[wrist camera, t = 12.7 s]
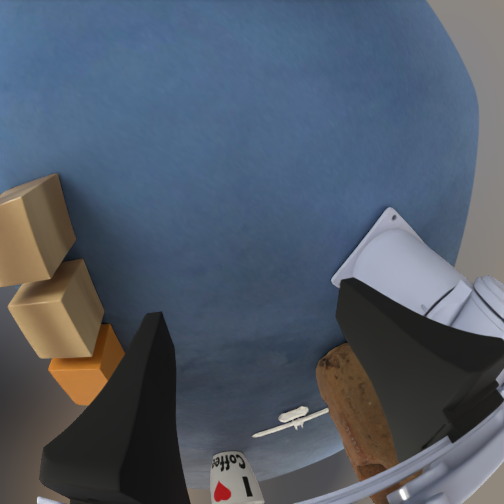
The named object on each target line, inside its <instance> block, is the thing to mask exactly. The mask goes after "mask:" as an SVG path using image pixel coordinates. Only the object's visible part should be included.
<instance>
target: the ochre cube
mask: <svg viewBox="0 0 504 504" xmlns="http://www.w3.org/2000/svg"><path fill="white" fill-rule="evenodd" d="M124 354H125V352H124V350H123V348H122V346H121V344H120V342H119V340H118V339H117V337H116V335H115V333H114V331H113V328H112V326H111V324H101V325H100V329H99V333H98V336H97V340H96V344H95V348H94V352H93V356H92V357H73V358H52V360H51V363H50V366H49V369H48V370H49V372H50V373H51V374H52V376H53V377H54V378H55V380H56V381H57V382H58V383H59V384H60V386H61V387H62V388H63V389H64V390H65V392H66V393H67V394H68V395H69V396H70V397H71V399H72V400H73V401H74V402H75V403H76V404H77V405H90V403H91V402H92V401H93V400H94V399H95V397H96V396H97V395H98V394H99V392H100V391H101V390H102V388H103V387H104V386H105V384H106V383H107V381H108V380H109V379H110V377H111V376H112V374H113V373H114V371H115V369H116V368H117V366H118V364H119V363H120V361H121V359H122V358H123V356H124Z"/></svg>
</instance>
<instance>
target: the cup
mask: <svg viewBox="0 0 504 504" xmlns="http://www.w3.org/2000/svg"><path fill="white" fill-rule="evenodd" d="M210 490H211V500H212V504H263V503H264V499H263V496H262V494H261V491H260V488H259V485H258V482H257V479H256V477H255V475H254V473H253V471H252V469H251V466H250V464H249V463H248V461H247V460H246V458H245V457H244V455H243V453H241V452H238V451H228V452H222V453H218V454H216V455H214V456H213V461H212V466H211V476H210Z"/></svg>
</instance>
